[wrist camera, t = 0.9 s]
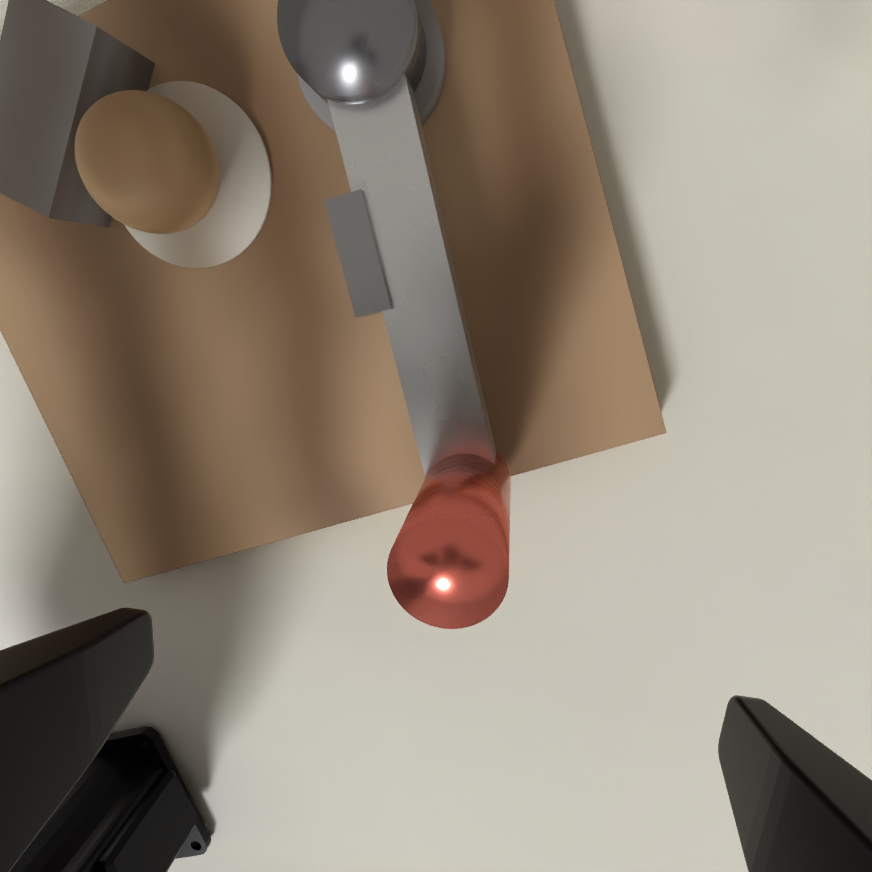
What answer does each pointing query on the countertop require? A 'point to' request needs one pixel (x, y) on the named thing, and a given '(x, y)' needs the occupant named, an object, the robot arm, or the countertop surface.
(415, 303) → the lever
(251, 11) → the cracker base
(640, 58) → the countertop surface
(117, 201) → the walnut
